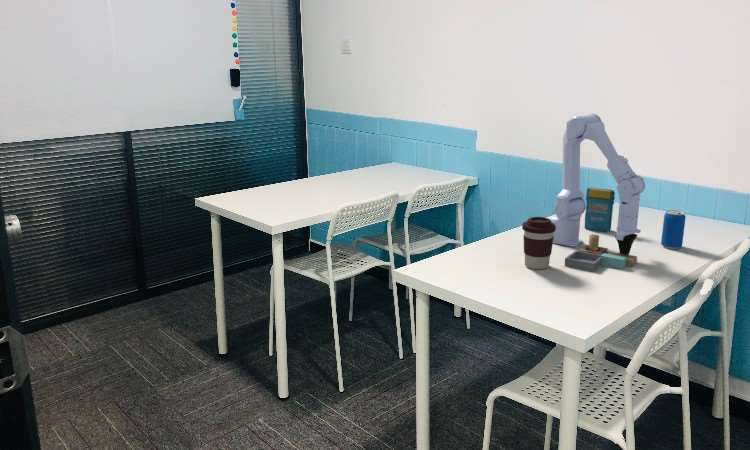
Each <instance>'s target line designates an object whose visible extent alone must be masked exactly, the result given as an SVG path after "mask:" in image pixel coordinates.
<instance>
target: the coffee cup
mask: <svg viewBox="0 0 750 450" xmlns="http://www.w3.org/2000/svg"><path fill="white" fill-rule="evenodd" d="M521 227H522V230H523V232H524V233H523V254H524V266H525V267H526V268H529V269H530V270H531V269H532V270H545V269H548V268H549V266H550V261H551V255H552V249H553V244H554V243H553V232H555V230H556V225H555V224H554V223H552V222H551V219H550V218H548V217H545V216H544V217H543V216H530V217H529V218H527V221H524V222H523V223H522V226H521Z"/></svg>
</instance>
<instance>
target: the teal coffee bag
mask: <svg viewBox="0 0 750 450" xmlns="http://www.w3.org/2000/svg"><path fill="white" fill-rule="evenodd" d="M615 194H616V192H615V190H614V189H608V188H607V189H606V188H597V187H588V188H587V189H586V194H585V197H586V199H585V204H586V209H585V212H584V213H585V215H584V229H585V230H589V231H596V232H602V233H603V232H604V233H607V232H610V231H612V230H611V229H612V219H613V212H614V211H613V210H614V205H615V204H614V203H615V199H616V195H615Z"/></svg>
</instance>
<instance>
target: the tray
mask: <svg viewBox="0 0 750 450" xmlns="http://www.w3.org/2000/svg"><path fill="white" fill-rule="evenodd" d="M600 256H601V255H597V254H592V253H586V252H581V251H578V250H575V251H573V252H571V254H569V255H567V256H566V257H565V258H564V267H570V268H574V269H579V270H584V271H587V272H588V271H590V272H595V271H596V270H597V269H599V267H601V266H602V265H601V262H602V257H600Z"/></svg>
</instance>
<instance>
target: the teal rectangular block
mask: <svg viewBox="0 0 750 450" xmlns="http://www.w3.org/2000/svg"><path fill="white" fill-rule="evenodd" d="M600 257H602V262H601V266H603V267H604V266H605V267H609V268H613V269H620V270H623V269H625V268H626V267H627V266H626V258H627V257H622V256H617V255H611V254H609V253H607V254H606V253H603V254H602V255H601V256H600Z"/></svg>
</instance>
